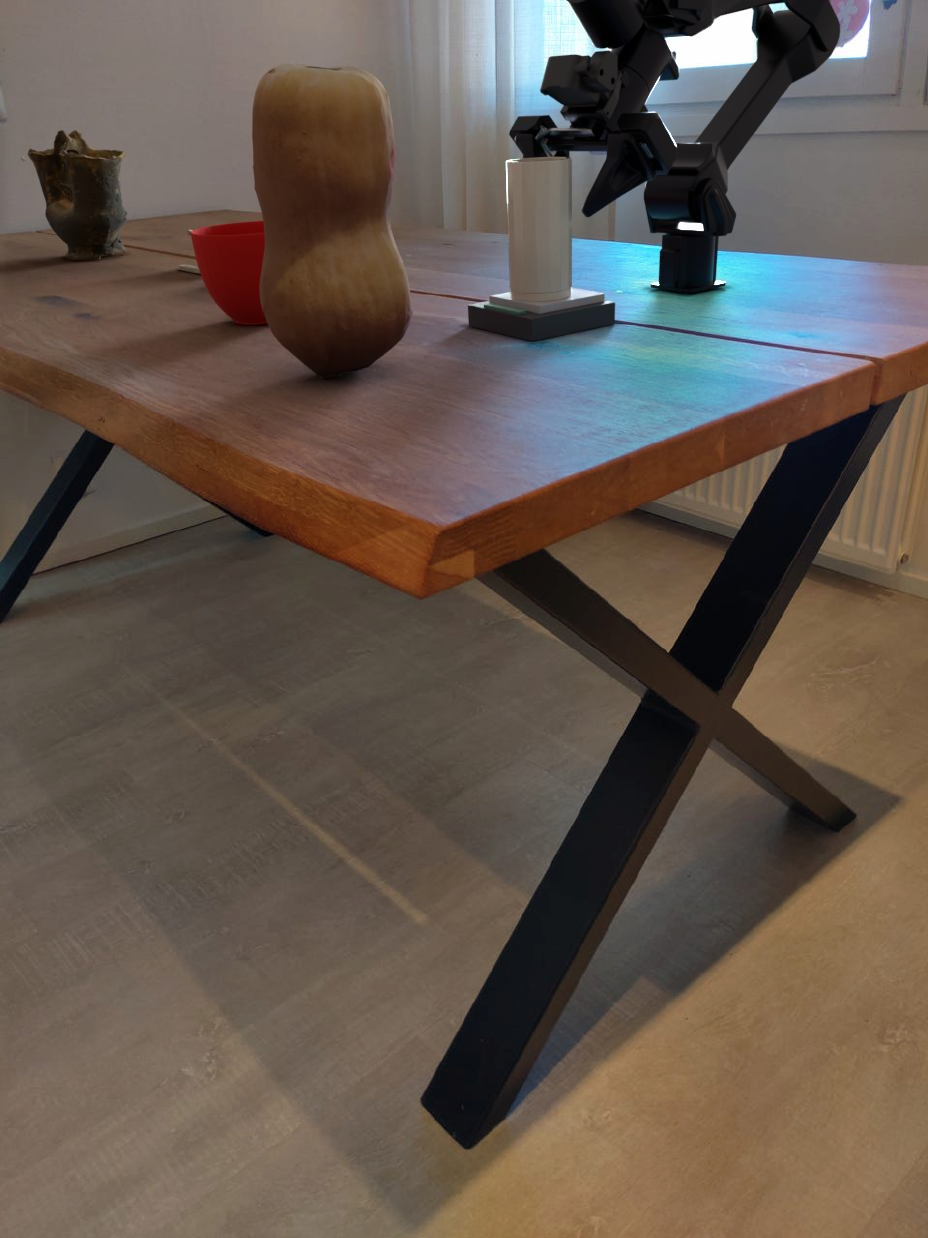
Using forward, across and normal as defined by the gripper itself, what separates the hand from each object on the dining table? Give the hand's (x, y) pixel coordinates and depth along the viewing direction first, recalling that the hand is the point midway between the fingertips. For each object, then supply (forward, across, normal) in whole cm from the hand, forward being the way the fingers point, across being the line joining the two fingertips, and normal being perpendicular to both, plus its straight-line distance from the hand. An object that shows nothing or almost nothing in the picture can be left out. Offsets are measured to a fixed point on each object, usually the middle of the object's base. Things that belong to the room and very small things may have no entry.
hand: (551, 212), depth 102 cm
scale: (+9, 0, +6) cm, 11 cm away
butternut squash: (+27, -1, -11) cm, 29 cm away
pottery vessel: (+12, -105, +4) cm, 105 cm away
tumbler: (+7, 0, +4) cm, 8 cm away
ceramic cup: (+21, -31, -5) cm, 38 cm away
